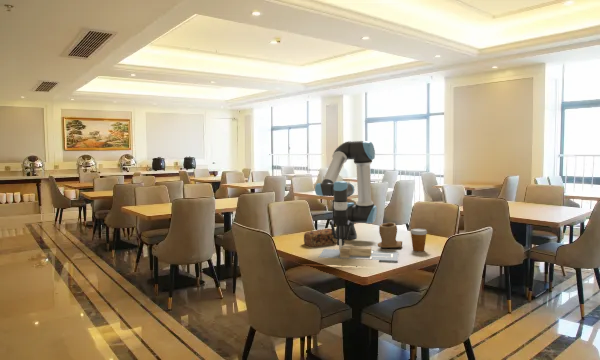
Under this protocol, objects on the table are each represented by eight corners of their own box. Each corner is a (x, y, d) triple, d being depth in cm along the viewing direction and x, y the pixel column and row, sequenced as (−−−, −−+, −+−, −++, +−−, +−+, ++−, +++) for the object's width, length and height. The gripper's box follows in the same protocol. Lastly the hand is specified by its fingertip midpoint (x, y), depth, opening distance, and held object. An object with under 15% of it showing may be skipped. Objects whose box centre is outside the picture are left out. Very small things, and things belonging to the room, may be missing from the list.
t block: (343, 250, 249) (343, 243, 248) (371, 251, 245) (371, 244, 245) (340, 257, 233) (340, 250, 233) (370, 258, 230) (370, 251, 229)
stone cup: (378, 249, 254) (378, 224, 253) (376, 245, 265) (376, 221, 264) (404, 250, 252) (405, 224, 251) (402, 245, 264) (402, 221, 263)
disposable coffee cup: (407, 248, 256) (407, 228, 255) (423, 248, 257) (423, 228, 256) (413, 252, 246) (413, 231, 246) (429, 251, 247) (429, 231, 246)
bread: (329, 242, 276) (329, 227, 275) (337, 245, 266) (337, 229, 266) (303, 245, 268) (303, 229, 267) (310, 249, 258) (310, 232, 258)
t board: (324, 250, 253) (324, 248, 253) (397, 253, 244) (397, 251, 244) (318, 259, 234) (318, 257, 234) (397, 262, 225) (397, 260, 225)
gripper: (327, 209, 237) (328, 252, 239) (351, 210, 234) (351, 253, 236) (330, 208, 245) (330, 249, 246) (353, 208, 242) (353, 250, 243)
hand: (340, 251), depth 241 cm, fingers closed
